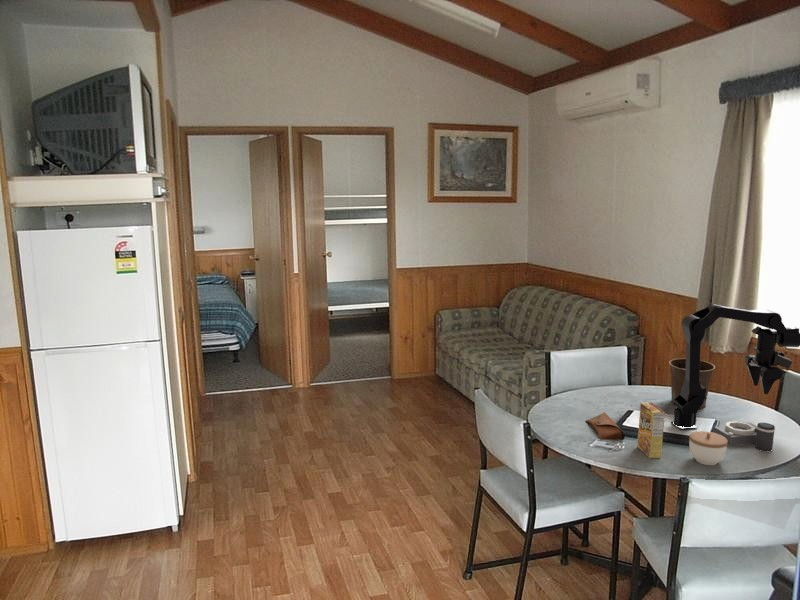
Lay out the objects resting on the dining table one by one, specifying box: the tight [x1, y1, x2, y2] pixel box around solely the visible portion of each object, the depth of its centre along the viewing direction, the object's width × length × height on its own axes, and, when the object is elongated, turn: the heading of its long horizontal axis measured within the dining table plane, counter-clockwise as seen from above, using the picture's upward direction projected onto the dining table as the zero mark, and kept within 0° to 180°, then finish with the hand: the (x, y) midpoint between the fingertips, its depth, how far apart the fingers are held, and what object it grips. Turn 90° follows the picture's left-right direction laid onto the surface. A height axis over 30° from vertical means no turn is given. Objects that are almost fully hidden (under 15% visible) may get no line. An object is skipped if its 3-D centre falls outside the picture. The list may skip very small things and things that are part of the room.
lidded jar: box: [688, 430, 729, 466], centre depth 198 cm, size 11×11×9 cm
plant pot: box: [668, 357, 716, 410], centre depth 247 cm, size 16×16×16 cm
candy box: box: [636, 402, 666, 459], centre depth 204 cm, size 9×4×15 cm, turn 6°
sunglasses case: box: [585, 411, 626, 441], centre depth 224 cm, size 18×7×7 cm
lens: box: [755, 422, 776, 452], centre depth 207 cm, size 5×5×8 cm
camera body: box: [712, 420, 757, 447], centre depth 215 cm, size 13×9×4 cm
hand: (760, 389), depth 223 cm, fingers open, 9 cm apart
